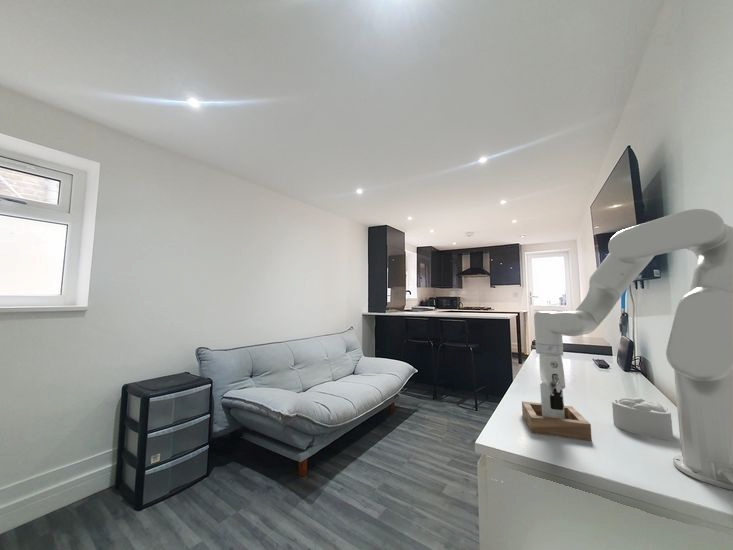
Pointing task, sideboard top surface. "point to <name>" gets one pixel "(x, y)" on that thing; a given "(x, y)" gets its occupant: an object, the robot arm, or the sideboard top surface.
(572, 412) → the square wooden tray
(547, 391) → the skincare box
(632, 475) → the sideboard top surface
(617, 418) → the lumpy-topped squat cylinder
